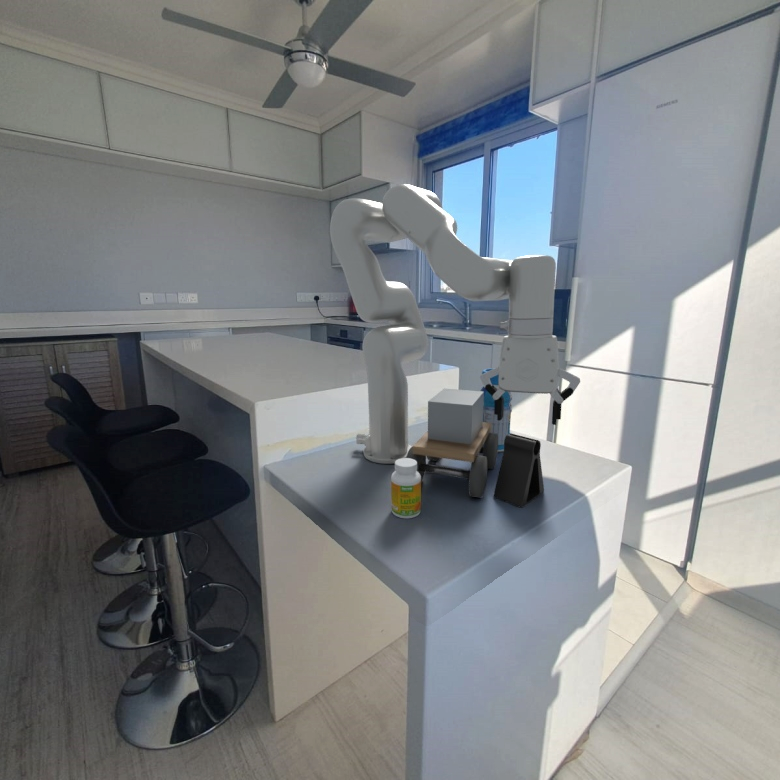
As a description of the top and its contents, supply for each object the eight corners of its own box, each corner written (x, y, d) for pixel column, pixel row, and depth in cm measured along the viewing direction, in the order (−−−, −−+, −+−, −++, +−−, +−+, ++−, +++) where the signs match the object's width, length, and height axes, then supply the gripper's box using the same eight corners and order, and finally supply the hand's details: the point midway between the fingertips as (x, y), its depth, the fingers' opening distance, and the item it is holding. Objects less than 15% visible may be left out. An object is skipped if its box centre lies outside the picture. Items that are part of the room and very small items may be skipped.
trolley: (478, 505, 77) (482, 415, 73) (404, 491, 83) (403, 407, 79) (497, 461, 97) (500, 388, 93) (435, 452, 103) (436, 383, 99)
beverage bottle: (493, 455, 100) (497, 375, 96) (469, 445, 107) (471, 369, 102) (516, 448, 105) (521, 371, 100) (492, 439, 112) (495, 366, 107)
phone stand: (521, 508, 76) (525, 447, 73) (493, 497, 80) (495, 439, 77) (544, 492, 82) (548, 435, 79) (516, 482, 86) (520, 428, 83)
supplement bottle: (399, 522, 72) (398, 470, 70) (387, 507, 77) (386, 459, 75) (426, 515, 74) (426, 465, 72) (412, 501, 79) (412, 454, 77)
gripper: (477, 330, 73) (476, 422, 77) (584, 330, 67) (577, 430, 70) (485, 327, 80) (483, 412, 84) (583, 326, 73) (576, 418, 77)
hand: (526, 420), depth 77 cm, fingers open, 9 cm apart
